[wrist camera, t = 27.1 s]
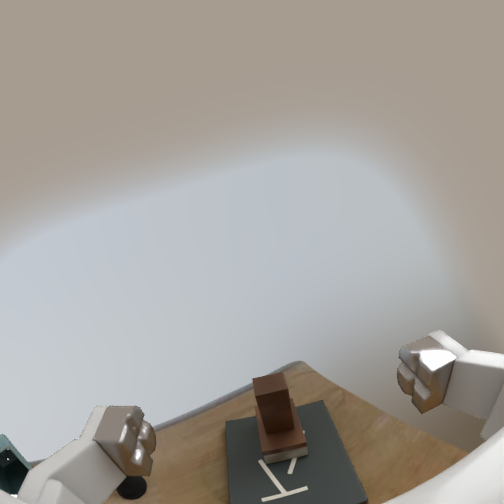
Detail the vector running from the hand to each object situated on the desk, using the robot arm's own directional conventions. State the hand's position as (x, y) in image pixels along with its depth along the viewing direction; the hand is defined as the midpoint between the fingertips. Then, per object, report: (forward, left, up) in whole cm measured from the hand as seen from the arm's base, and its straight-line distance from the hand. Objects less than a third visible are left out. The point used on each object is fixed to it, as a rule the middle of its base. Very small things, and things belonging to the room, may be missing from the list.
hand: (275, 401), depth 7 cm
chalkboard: (0, +13, -25) cm, 28 cm away
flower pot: (-45, +10, -21) cm, 51 cm away
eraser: (0, +17, -24) cm, 29 cm away
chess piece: (-20, +11, -25) cm, 34 cm away
